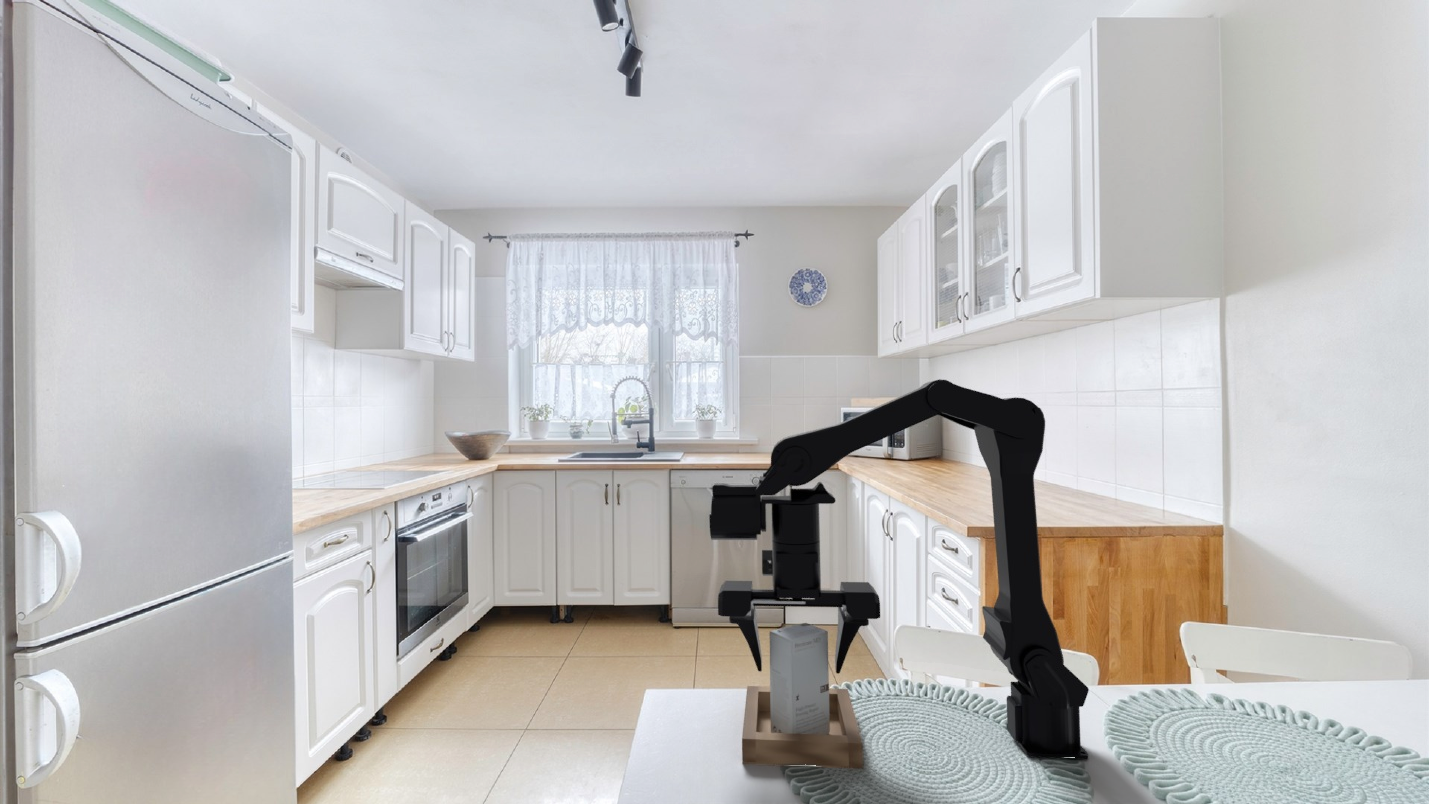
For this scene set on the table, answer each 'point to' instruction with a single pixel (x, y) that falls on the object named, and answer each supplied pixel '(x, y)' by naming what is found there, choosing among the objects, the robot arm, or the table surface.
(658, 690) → the table surface
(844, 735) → the brown wooden tray
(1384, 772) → the table surface
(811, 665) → the skincare box
